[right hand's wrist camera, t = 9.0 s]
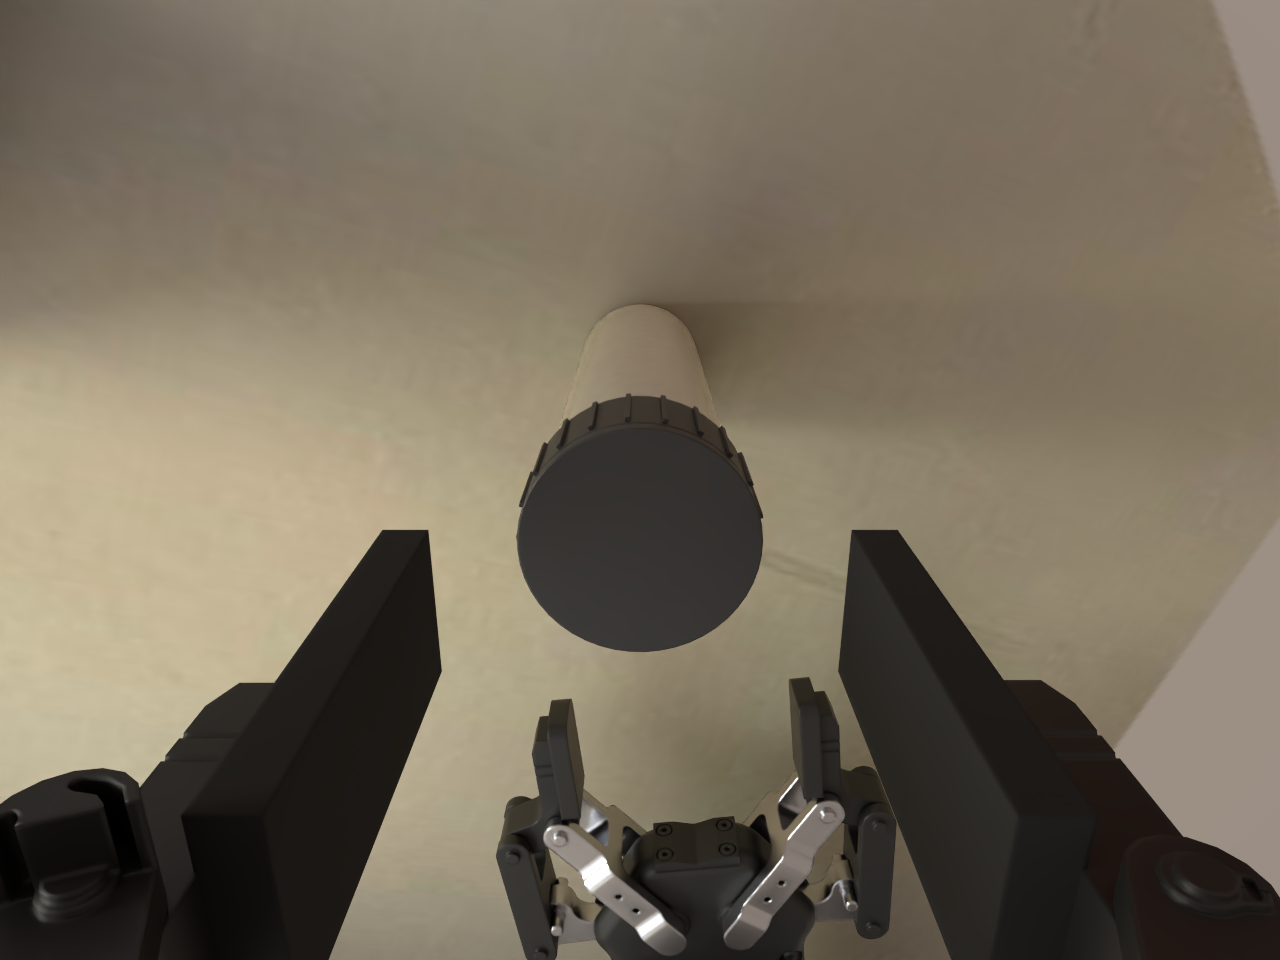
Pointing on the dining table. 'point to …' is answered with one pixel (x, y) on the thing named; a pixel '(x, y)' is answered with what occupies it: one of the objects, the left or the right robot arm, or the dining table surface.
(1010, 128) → the dining table surface
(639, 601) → the lid
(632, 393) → the jar
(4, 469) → the dining table surface
